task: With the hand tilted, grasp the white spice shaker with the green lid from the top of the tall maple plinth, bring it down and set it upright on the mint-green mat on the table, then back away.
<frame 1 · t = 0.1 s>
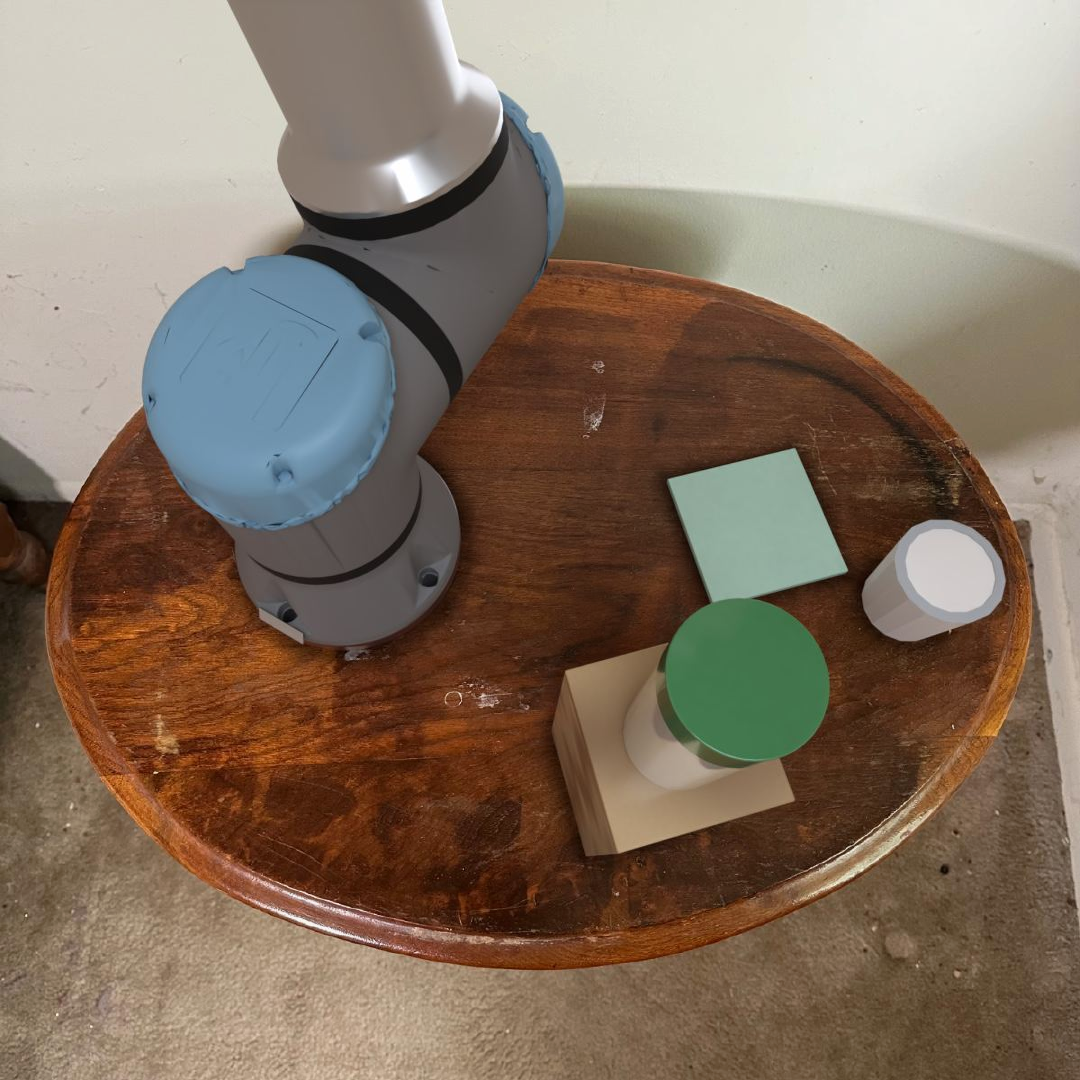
mat: (754, 527, 59), on the table
plinth: (627, 774, 53), on the table
spice shaker: (677, 733, 36), point 18 cm above the table, touching plinth
grey white cylinder: (900, 603, 58), on the table
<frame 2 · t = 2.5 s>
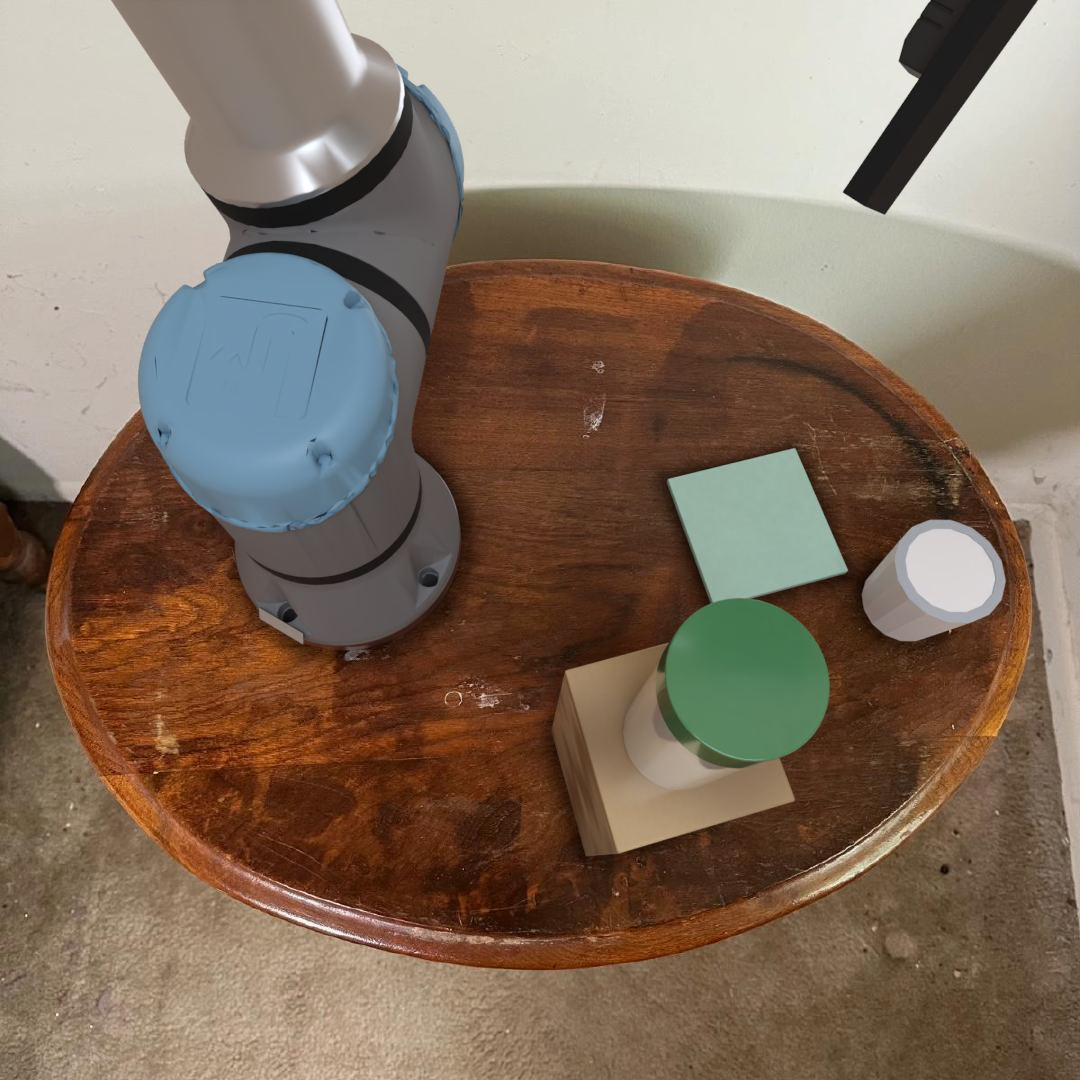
hand: (1066, 335, 23), 36 cm above the table, tool tilted 40°, fingers open, 13 cm apart
nothing on the table moved.
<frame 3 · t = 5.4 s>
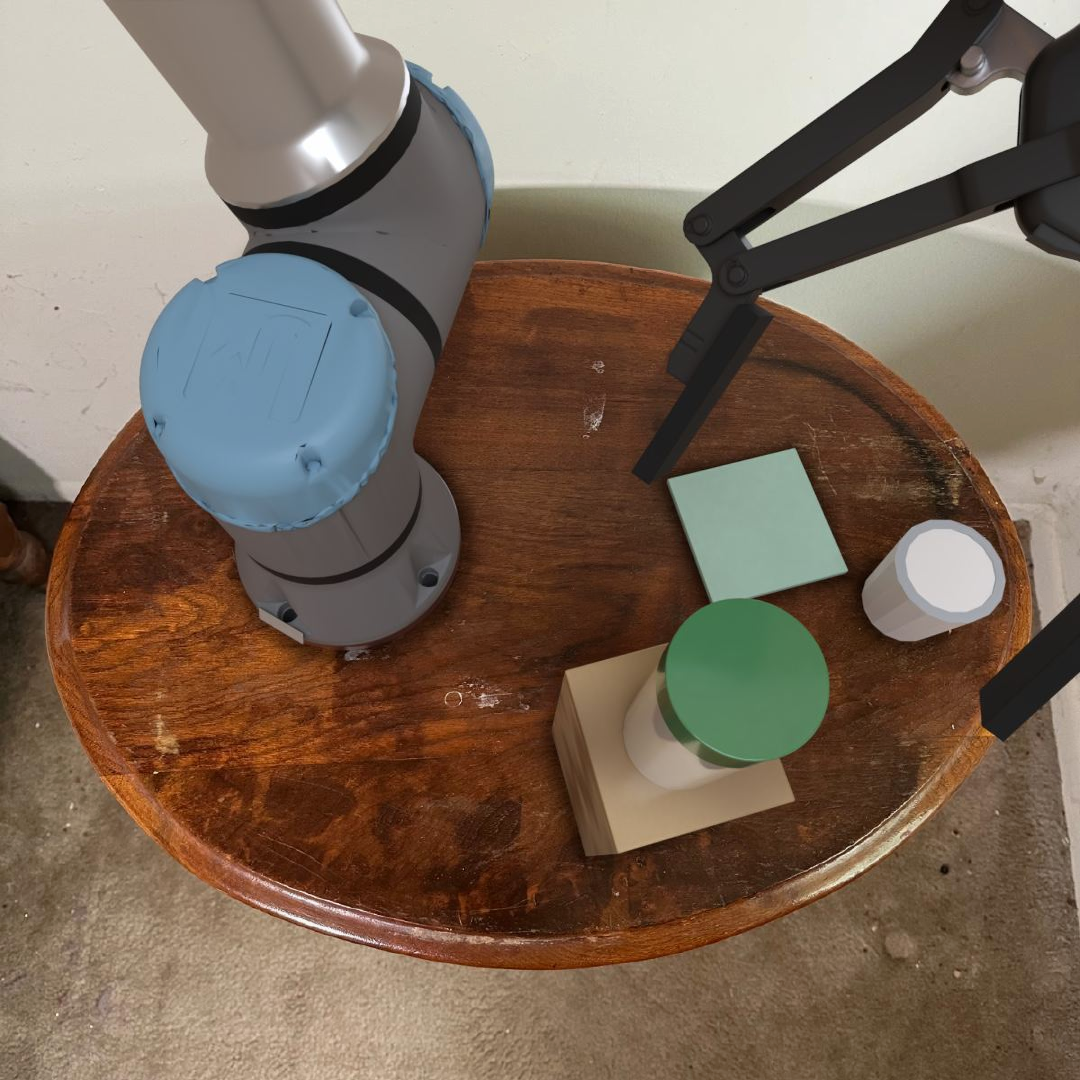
hand: (811, 588, 28), 28 cm above the table, tool tilted 45°, fingers open, 13 cm apart
nothing on the table moved.
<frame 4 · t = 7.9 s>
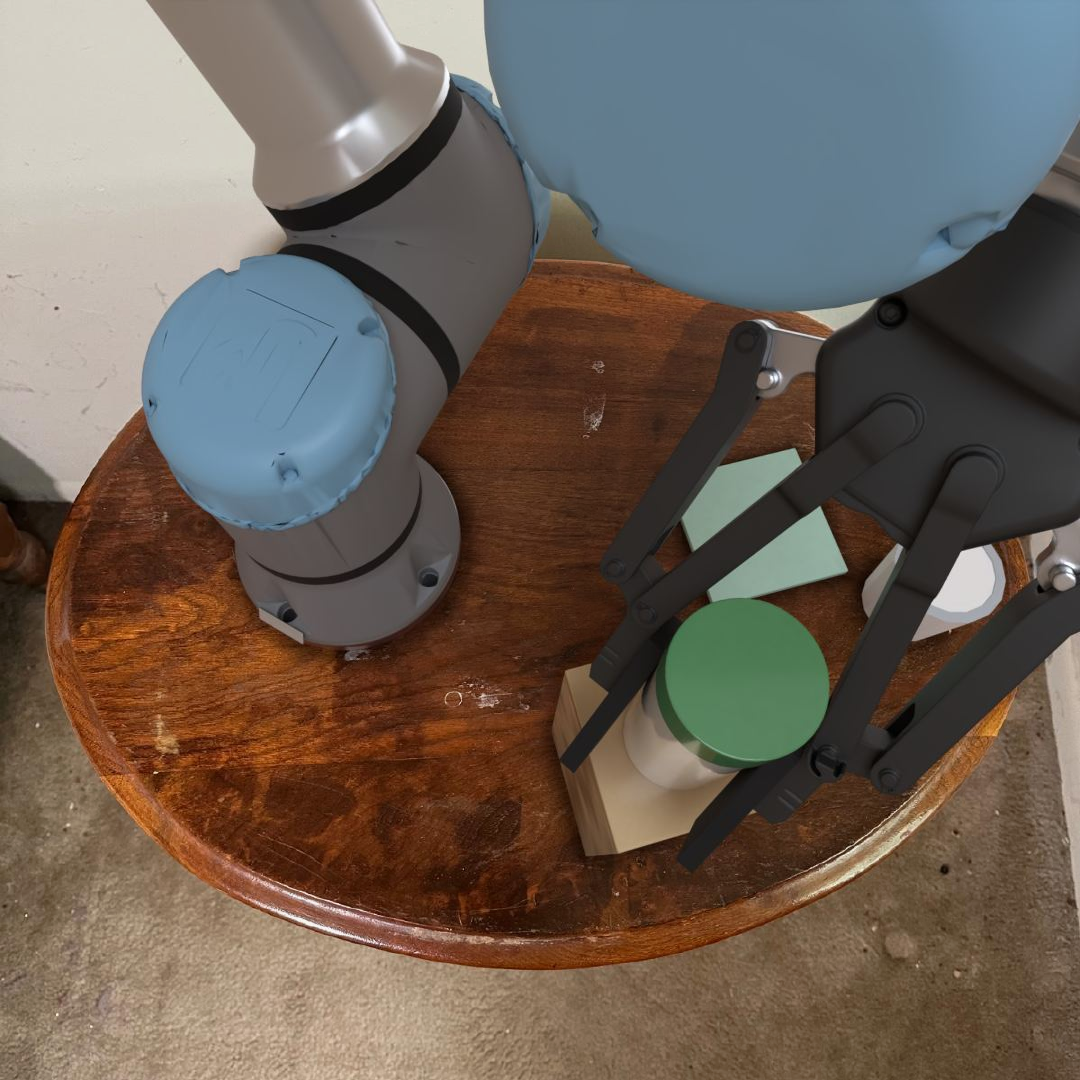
hand: (636, 796, 32), 21 cm above the table, tool tilted 45°, fingers closed on spice shaker, 5 cm apart
spice shaker: (677, 733, 36), point 18 cm above the table, touching gripper, plinth
everything else where it was.
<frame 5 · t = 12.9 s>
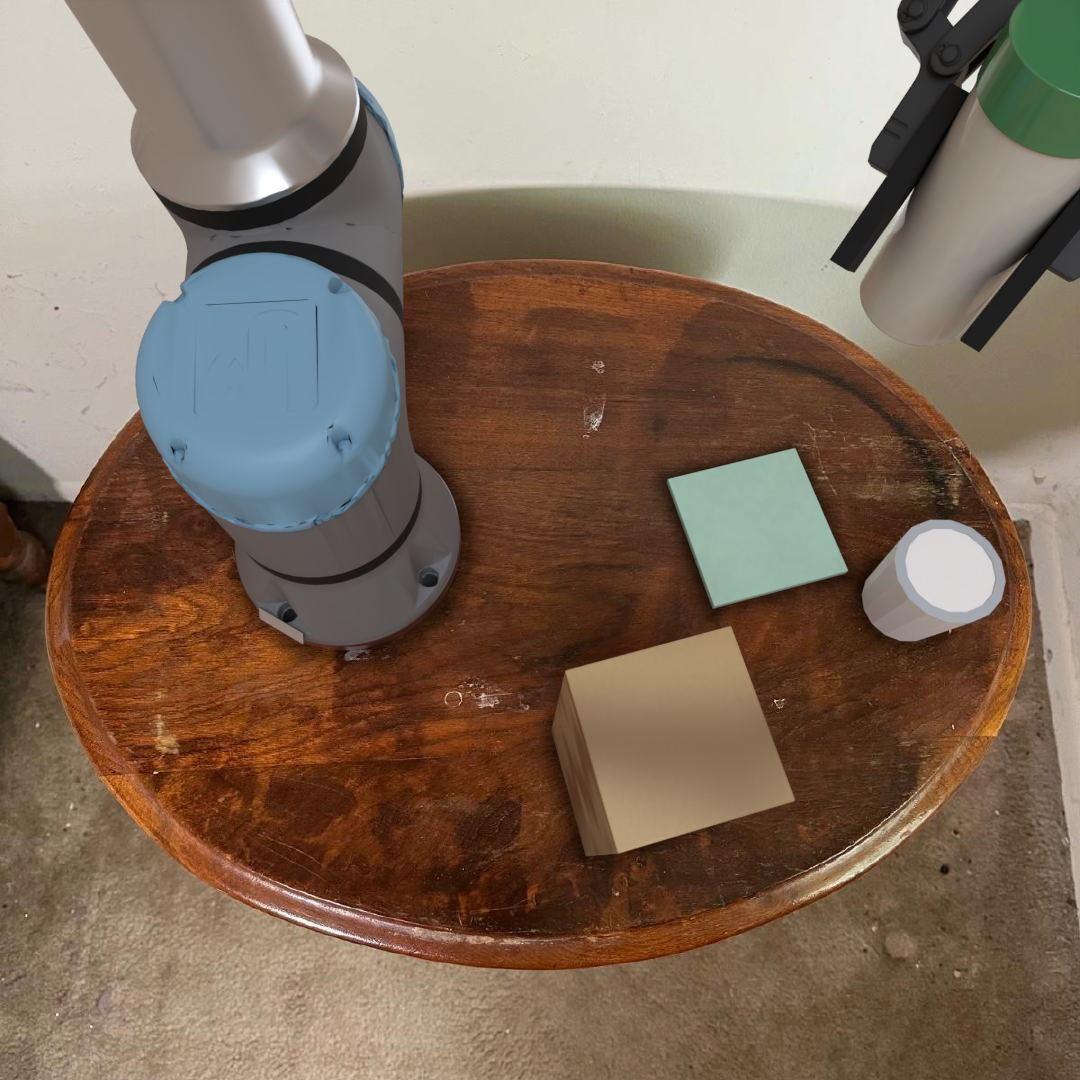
hand: (905, 303, 31), 29 cm above the table, tool tilted 45°, fingers closed on spice shaker, 5 cm apart
spice shaker: (915, 299, 35), point 26 cm above the table, touching gripper
everything else where it was.
when the fingers open (4 cm above the table, at t = 18.0 s): spice shaker stays where it is, resting on mat.
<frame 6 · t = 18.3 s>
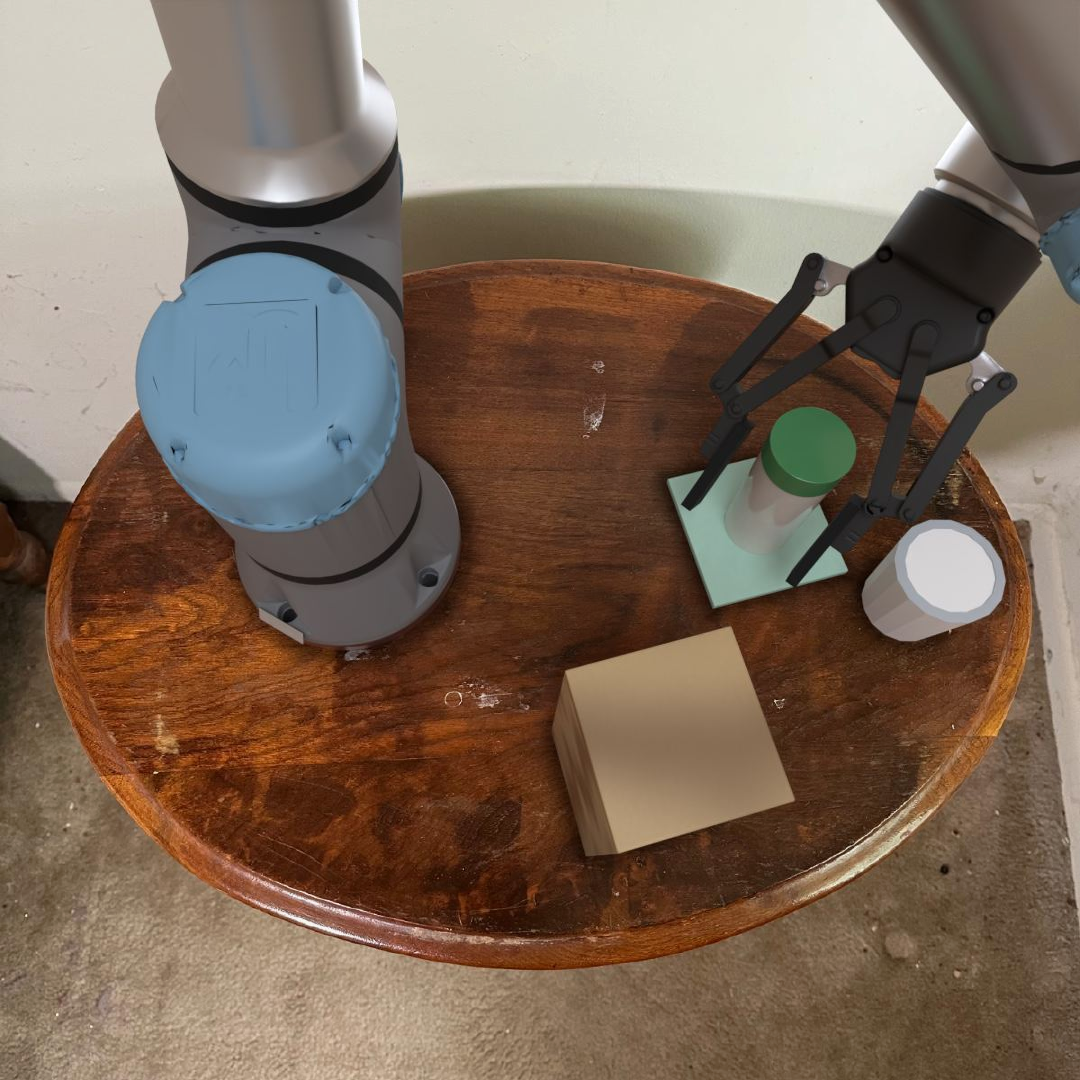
hand: (741, 540, 54), 4 cm above the table, tool tilted 45°, fingers open, 8 cm apart
spice shaker: (757, 523, 59), point 1 cm above the table, touching mat
everything else where it was.
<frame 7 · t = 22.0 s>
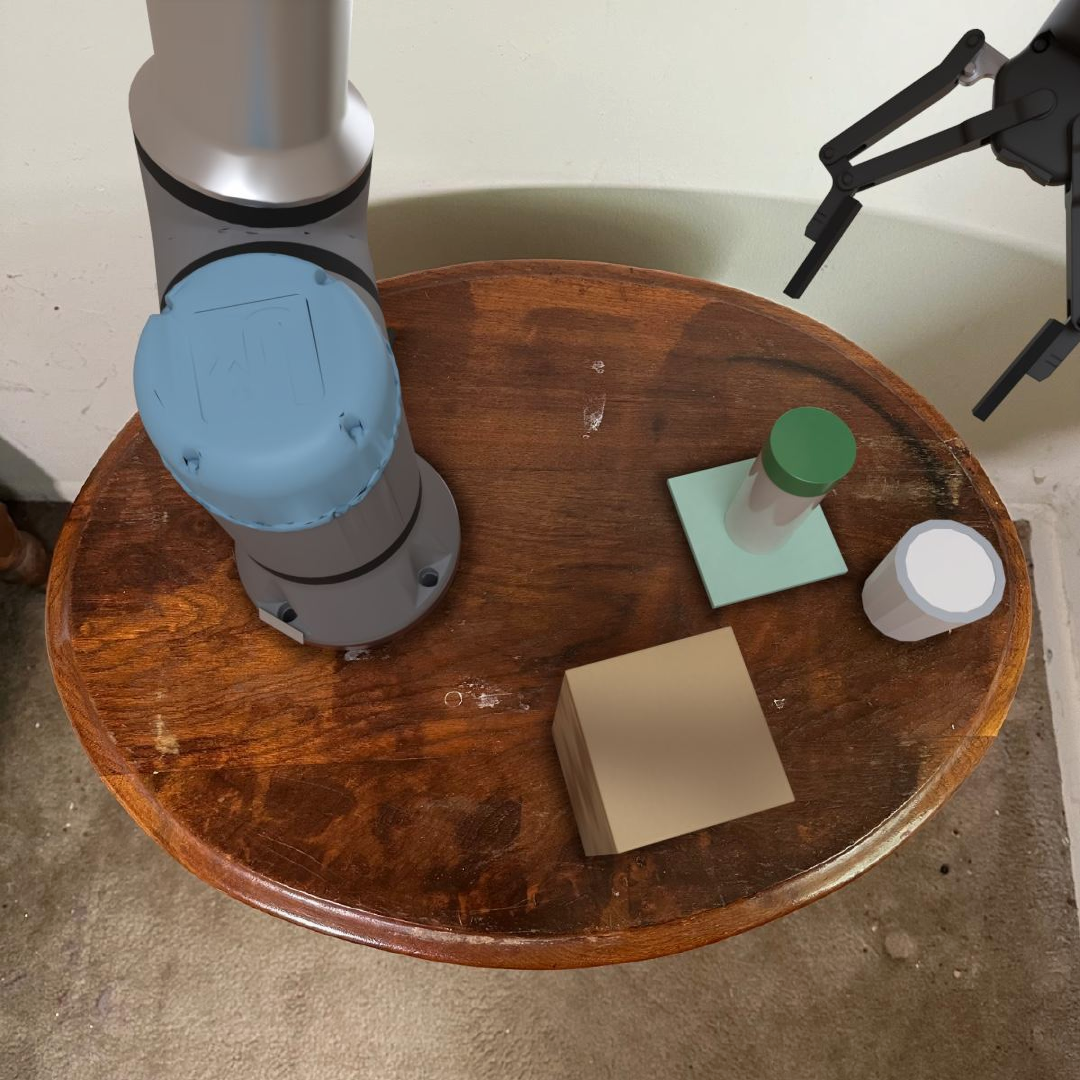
hand: (881, 354, 52), 11 cm above the table, tool tilted 45°, fingers open, 13 cm apart
nothing on the table moved.
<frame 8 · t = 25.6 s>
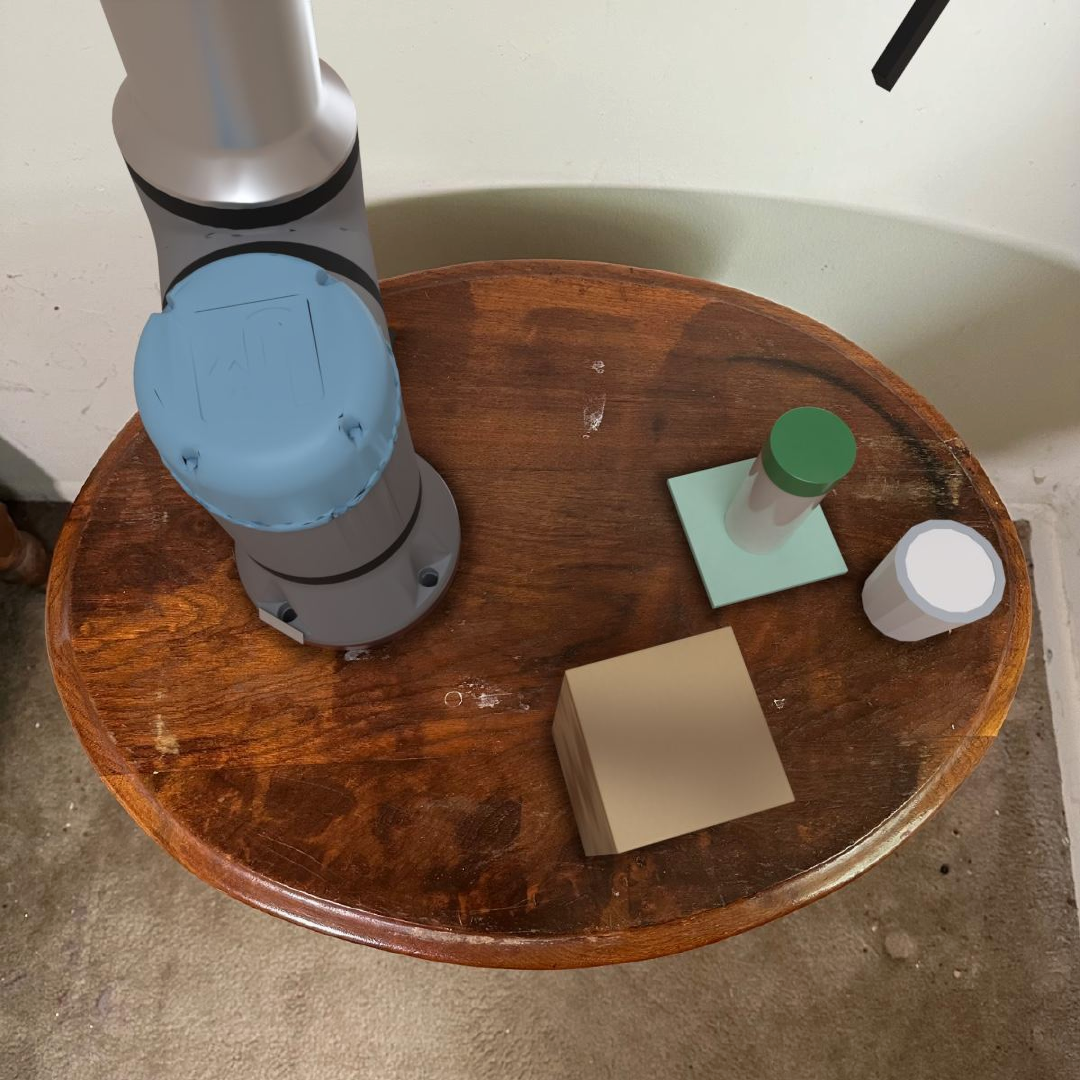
hand: (1014, 157, 36), 28 cm above the table, tool tilted 45°, fingers open, 13 cm apart
nothing on the table moved.
at the end: spice shaker inside the target area on the mat (0.1 cm from its centre), point 0.6 cm above the mat's base; spice shaker tilted 0°; the gripper is holding nothing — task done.
